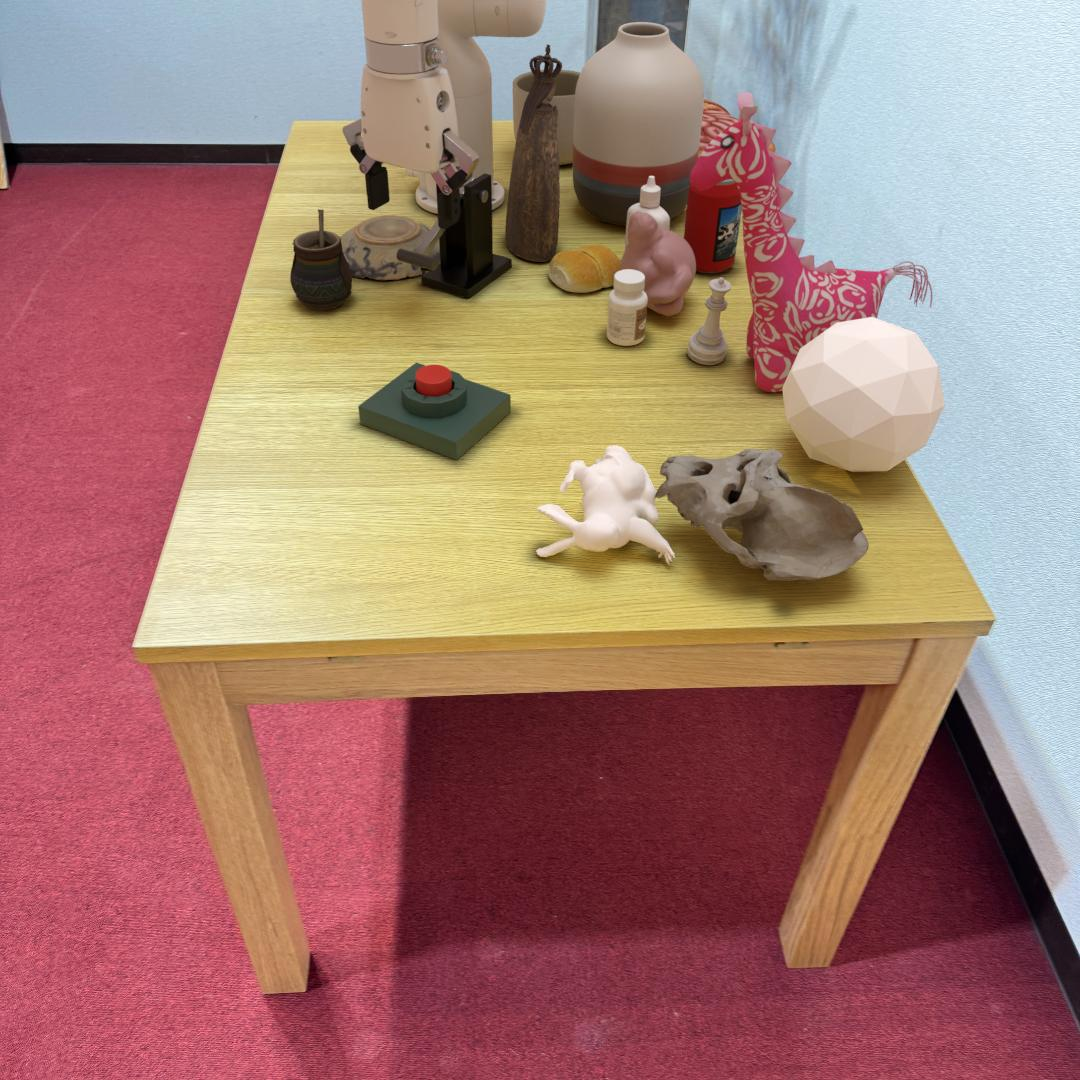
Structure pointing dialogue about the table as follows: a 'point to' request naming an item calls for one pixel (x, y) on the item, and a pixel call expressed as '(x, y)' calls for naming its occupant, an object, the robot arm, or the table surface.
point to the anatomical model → (716, 124)
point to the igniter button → (433, 380)
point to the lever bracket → (468, 246)
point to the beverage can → (713, 225)
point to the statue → (536, 170)
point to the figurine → (659, 263)
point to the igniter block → (435, 413)
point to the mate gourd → (320, 269)
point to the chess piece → (711, 328)
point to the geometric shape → (863, 395)
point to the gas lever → (427, 244)
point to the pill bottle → (627, 308)
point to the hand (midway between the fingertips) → (413, 215)
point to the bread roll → (584, 268)
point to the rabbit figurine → (609, 507)
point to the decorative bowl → (384, 247)
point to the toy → (784, 254)
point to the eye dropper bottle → (649, 206)
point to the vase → (636, 123)
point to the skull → (765, 514)
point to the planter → (561, 99)
